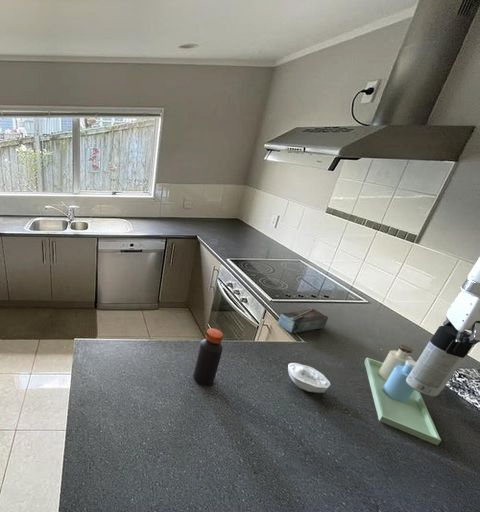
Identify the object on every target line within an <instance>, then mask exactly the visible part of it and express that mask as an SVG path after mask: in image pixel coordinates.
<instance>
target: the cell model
mask: <svg viewBox="0 0 480 512" xmlns="http://www.w3.org/2000/svg"><path fill="white" fill-rule="evenodd" d="M287 373H288V376H289V378H290V379H291V381H292V382H293V383H294V385H295V386H296V387H297V388H298V389H301V390H304V391H306V392H309V393H325V392H326V391H327V389H328V388H329V387H330V386H331V382H330V380H328V378H327V377H326V376H325V375H324V374H323V373H322V372H320V371H318V370H317V369H316V368H314V367H312V366H310V365H305V364H302V363H298V362H290V363H288V365H287Z"/></svg>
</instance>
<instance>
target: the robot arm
mask: <svg viewBox="0 0 480 512" xmlns="http://www.w3.org/2000/svg"><path fill="white" fill-rule="evenodd" d="M460 290H461V291H460V292H459V293H458V295H457V296H456V297H455V298H454V300H453V302H452V303H451V304H450V306H449V307H448V310H447V312H446V314H445V316H446V317H445V318H446V319H445V320H444V321H443V322H442V326H454V327H455V328H456V329H457V330H458V333H457V336H456V339H455V340H452V341H451V343H450V344H449V346H448V347H447V349H446V350H445V352H446V353H447V354H451V355H454V356H457V357H461V358H464V357H465V356H466V357H467V355H468V354H469V352H470V351H471V350H472V348H474V347H475V345H477V344H478V343H480V256H479V257H478V259H477V261H476V262H475V264H474V265H473V267H472V268H471V270H470V272H469V273H468V275H467V276H466V278H465V280H464V282H463V283H462V284H461V286H460ZM464 330H465V331H467V332H465V331H464ZM469 331H470V332H469ZM463 334H466V335H470V336H469V337H464V338H462V337H463ZM471 347H472V348H471ZM469 350H470V351H469ZM468 351H469V352H468ZM467 353H468V354H467ZM466 354H467V355H466ZM466 357H465V358H466ZM465 358H464V359H465Z"/></svg>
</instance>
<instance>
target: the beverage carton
mask: <svg viewBox="0 0 480 512" xmlns="http://www.w3.org/2000/svg"><path fill="white" fill-rule="evenodd" d="M328 319H329V316H327V315H325V314H324V313H322V312H320V311H318V310H316V309H315V308H309V309H302V310H295V311H290V312H281V313H280V316H279V318H278V322H277V323H278V325H279V326H280V327H282V328H283V329H285V330H286V331H288V332H289V333H291V334H295V333H300V332H307V331H308V332H309V331H313V330H320V329H325V328H326V324H327V322H328Z"/></svg>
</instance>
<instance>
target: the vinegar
mask: <svg viewBox="0 0 480 512" xmlns="http://www.w3.org/2000/svg"><path fill="white" fill-rule="evenodd" d="M223 336H224V333H223V332H222V331H221V330H219V329H217V328H214V327H213V328H212V327H211V328H207V330H206V333H205V338H203V339H201V341H200V346H199V349H198V353H197V354H198V355H197V358H196V363H195V366H194V370H193V380H194V381H195V383H197V384H199V385H200V386H203V387H211V386H213V384H214V383H215V380H216V375H217V372H218V368H219V364H220V361H221V356H222V355H223V354H222V353H223V345H222V344H221V343H222V340H223Z"/></svg>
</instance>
